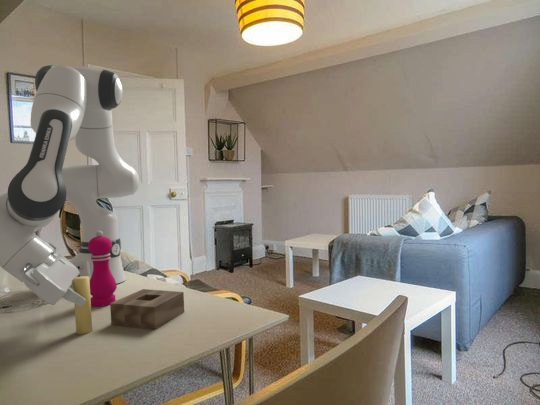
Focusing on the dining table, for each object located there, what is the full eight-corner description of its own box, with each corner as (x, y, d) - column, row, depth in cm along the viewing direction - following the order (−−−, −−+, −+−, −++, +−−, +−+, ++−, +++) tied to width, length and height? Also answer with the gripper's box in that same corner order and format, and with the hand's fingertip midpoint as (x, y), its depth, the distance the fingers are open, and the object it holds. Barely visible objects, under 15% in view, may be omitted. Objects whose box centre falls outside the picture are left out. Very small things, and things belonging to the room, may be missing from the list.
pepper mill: (88, 301, 108) (84, 230, 107) (115, 297, 112) (112, 228, 111) (89, 309, 102) (85, 233, 101) (118, 304, 105) (114, 230, 104)
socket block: (111, 324, 90) (110, 303, 90) (143, 308, 101) (143, 289, 101) (155, 329, 86) (154, 307, 86) (184, 311, 97) (183, 292, 97)
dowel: (72, 333, 85) (69, 279, 85) (84, 328, 88) (81, 275, 88) (84, 334, 84) (81, 280, 84) (95, 329, 87) (92, 276, 87)
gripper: (30, 258, 73) (90, 302, 77) (53, 242, 93) (100, 278, 96) (4, 284, 72) (66, 328, 76) (33, 263, 91) (81, 299, 95)
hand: (85, 300), depth 86 cm, fingers closed on dowel, 3 cm apart
